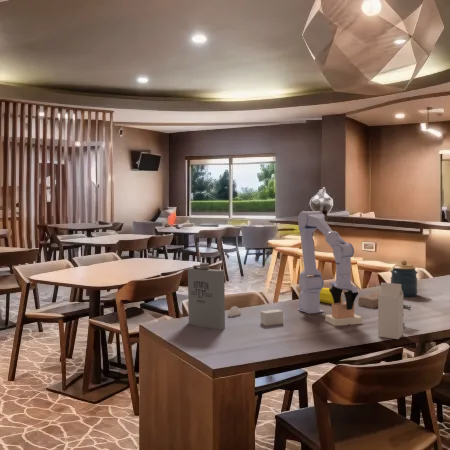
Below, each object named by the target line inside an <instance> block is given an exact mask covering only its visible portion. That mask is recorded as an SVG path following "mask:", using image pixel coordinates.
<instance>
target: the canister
mask: <svg viewBox="0 0 450 450" xmlns="http://www.w3.org/2000/svg"><path fill="white" fill-rule="evenodd" d="M416 268H417V267H416V266H414V264H410V263H407V260H401V263H396V264H394V265H393V266H392V270H390V273H391V277H390V283H392V284H401V288H402V291H403V296H405V297H404V298H411V297H416V296H418V277H417V274H418V271H417V270H416Z"/></svg>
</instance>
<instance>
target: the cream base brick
mask: <svg viewBox="0 0 450 450" xmlns="http://www.w3.org/2000/svg"><path fill="white" fill-rule="evenodd" d="M324 320H325V322H326V323H328V324H330V325H332V326H333V327H335V326H347V325H348V324H350V325H358V324H359V325H360V324H361V325H362V324H363V317H362V316H361V315H358V314H356V313H354V316H351V317H343V318H336V317H333V316H332V313H331V314H325V317H324Z"/></svg>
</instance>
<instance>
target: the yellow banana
mask: <svg viewBox="0 0 450 450" xmlns="http://www.w3.org/2000/svg"><path fill="white" fill-rule="evenodd" d="M329 289H331V287H323V288H322V289H321V291H320V303H325V304H329V305H332V304H333V303H334V300H333V297H332V294H331V292H330V291H329ZM342 302H343V300H342V298H341V303H342Z"/></svg>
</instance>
